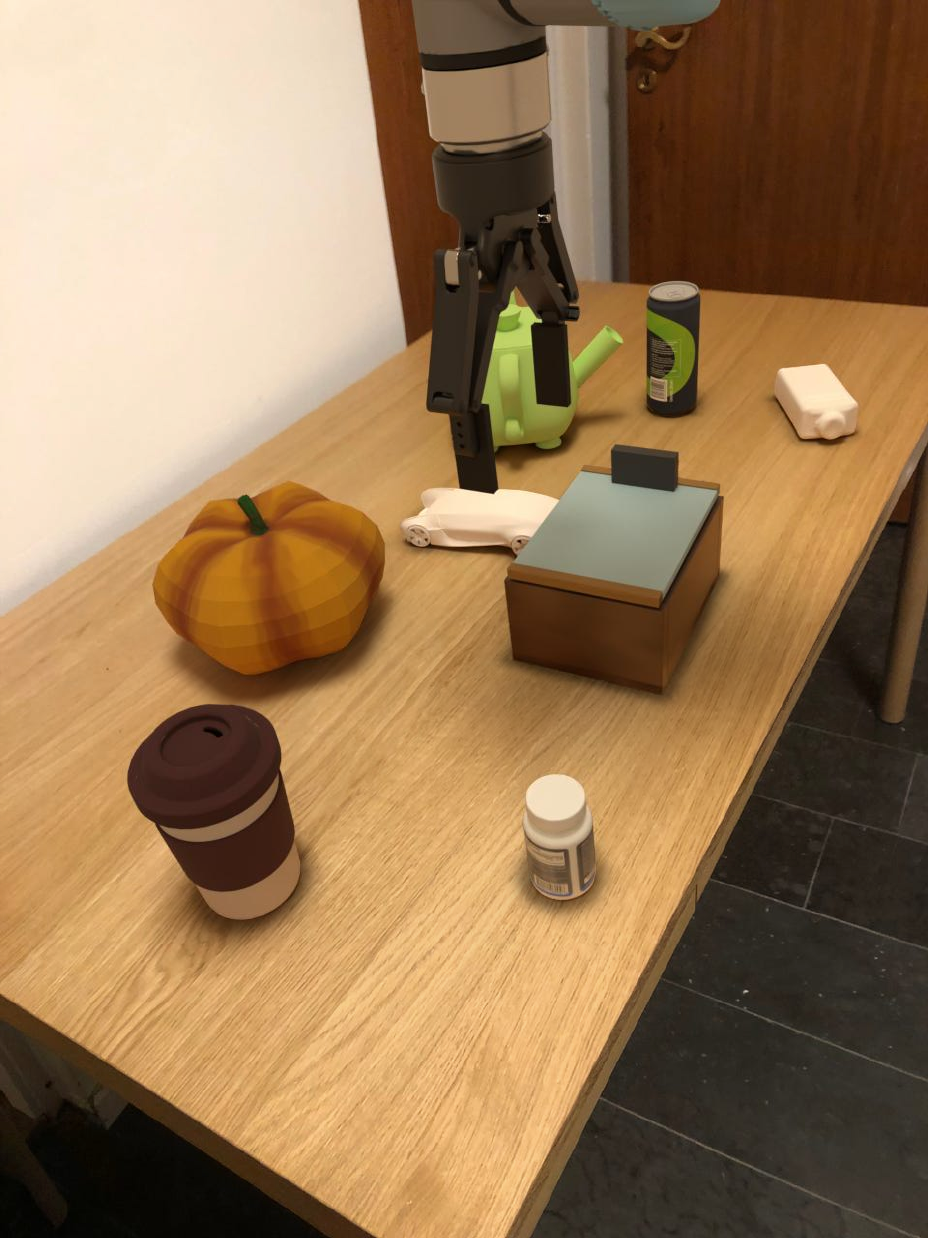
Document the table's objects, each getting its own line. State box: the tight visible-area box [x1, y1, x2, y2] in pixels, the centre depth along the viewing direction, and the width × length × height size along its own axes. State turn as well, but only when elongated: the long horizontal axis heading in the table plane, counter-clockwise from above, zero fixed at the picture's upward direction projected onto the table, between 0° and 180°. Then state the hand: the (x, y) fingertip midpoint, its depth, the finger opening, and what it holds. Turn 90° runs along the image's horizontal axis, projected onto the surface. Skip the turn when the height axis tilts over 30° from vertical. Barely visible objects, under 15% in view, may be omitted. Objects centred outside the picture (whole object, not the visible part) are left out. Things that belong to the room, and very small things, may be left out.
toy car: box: [398, 487, 560, 556], centre depth 102 cm, size 18×8×4 cm, turn 70°
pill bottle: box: [522, 773, 597, 901], centre depth 66 cm, size 5×5×8 cm
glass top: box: [506, 443, 721, 608], centre depth 83 cm, size 13×18×4 cm
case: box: [503, 494, 725, 696], centre depth 87 cm, size 14×18×9 cm
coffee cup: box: [126, 703, 301, 920], centre depth 67 cm, size 10×10×15 cm
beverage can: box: [645, 280, 702, 417], centre depth 117 cm, size 6×6×15 cm
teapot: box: [482, 289, 624, 453], centre depth 118 cm, size 25×22×16 cm
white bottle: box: [774, 363, 859, 440], centre depth 113 cm, size 6×13×4 cm, turn 0°
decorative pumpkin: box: [152, 480, 386, 676], centre depth 90 cm, size 20×22×15 cm
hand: (518, 444), depth 72 cm, fingers open, 13 cm apart
